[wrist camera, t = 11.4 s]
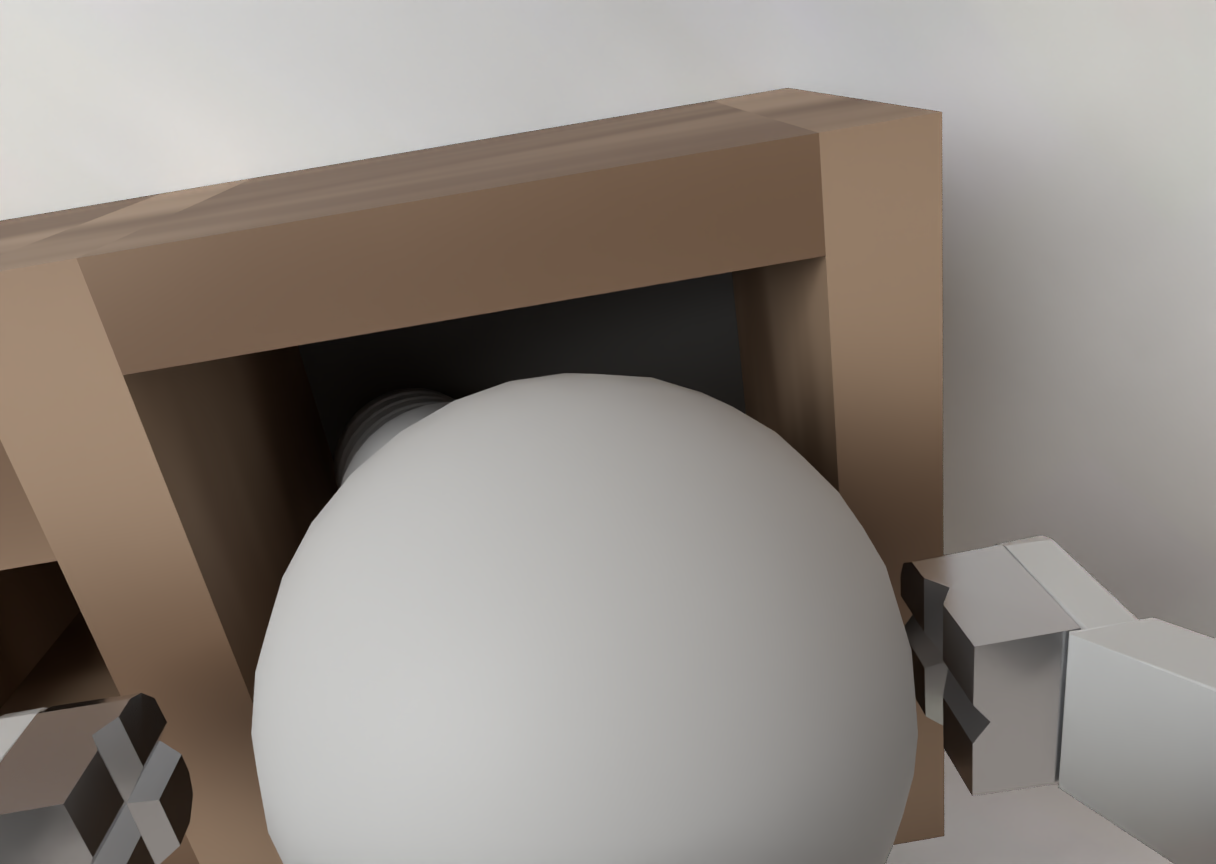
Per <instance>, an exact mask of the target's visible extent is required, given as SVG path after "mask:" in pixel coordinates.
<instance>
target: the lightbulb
mask: <svg viewBox="0 0 1216 864" xmlns="http://www.w3.org/2000/svg"><path fill="white" fill-rule="evenodd" d="M334 473H335V481H336V484H337V487H338V491H337V492H336V493H335V495H334V496H333V497H332V498H331V499H330V501H329V502H328V503H327V504H326V506H325V507H324V508H323V509H322V511H321V512H320V513H319V514H318V515H317V517H316V518H315V519H314V520H313V522H312V523H311V525H310V527H309V529H308V530H307V532H306V534H305V536H304V538H303V540H302V542H301V544H300V545H299V547H298V549H297V551H296V553H295V555H294V557H293V559H292V560H291V562H290V564H289V566H288V568H287V570H286V572H285V573H284V575H283V577H282V580H281V584H280V587H279V591H278V594H277V597H276V601H275V604H274V607H273V611H272V614H271V618H270V621H269V624H268V628H267V631H266V635H265V638H264V642H263V646H262V649H261V653H260V657H259V660H258V664H257V668H256V671H255V685H254V701H253V716H252V732H251V736H252V742H253V749H254V755H255V762H256V768H257V774H258V780H259V785H260V791H261V796H262V802H263V807H264V812H265V818H266V823H267V829H268V833H269V835H270V837H271V839H272V841H273V843H274V846H275V848H276V850H277V852H278V854H279V856H280V858H281V860H282V862H283V864H885V863H886V861H887V858H888V856H889V854H890V851H891V849H892V847H893V844H894V841H895V837H896V834H897V831H898V828H899V825H900V822H901V819H902V816H903V813H904V809H905V806H906V802H907V798H908V794H909V791H910V787H911V783H912V779H913V776H914V768H915V759H916V749H917V739H918V728H917V713H916V699H915V686H914V674H913V662H912V650H911V647H910V644H909V640H908V637H907V634H906V631H905V627H904V624H903V621H902V617H901V614H900V611H899V608H898V604H897V601H896V598H895V595H894V591H893V588H892V585H891V582H890V578H889V575H888V572H887V568H886V566H885V564H884V562H883V561H882V559H881V557H880V555H879V554H878V552H877V550H876V549H875V547H874V545H873V544H872V542H871V540H870V539H869V537H868V535H867V534H866V532H865V530H864V528H863V527H862V525H861V524H860V523H859V521H858V520H857V518H856V517H855V515H854V514H853V512H852V511H851V509H850V508H849V507H848V505H847V504H846V502H845V501H844V499H843V498H842V496H841V495H840V494H839V492H838V491H837V490H836V489H835V488H834V487H833V486H832V485H831V484H830V483H829V482H828V481H827V480H826V479H825V478H824V477H823V476H822V475H821V474H820V473H819V472H818V471H817V470H816V469H815V468H814V467H813V466H812V465H811V464H810V463H809V462H808V461H807V460H806V459H805V458H804V457H803V456H801V455H800V454H799V453H798V452H797V451H796V450H795V449H794V448H793V447H792V446H791V445H789V444H788V443H787V442H786V441H785V440H784V439H783V438H782V437H781V436H780V435H778V434H777V433H776V432H775V431H773V430H771V429H770V428H768V427H766V426H765V425H763V424H761V423H759V422H758V421H756V420H754V419H753V418H751V417H749V416H748V415H746V414H744V413H742V412H741V411H739V410H737V409H736V408H734V407H732V406H730V405H728V404H726V403H724V402H721V401H719V400H717V399H715V398H713V397H710V396H708V395H706V394H704V393H702V392H698V391H695V390H692V389H688V388H685V387H682V386H678V385H675V384H672V383H668V382H665V381H662V380H658V379H655V378H652V377H636V376H621V375H605V374H580V373H562V374H555V375H549V376H542V377H535V378H528V379H521V380H514V381H509V382H506V383H503V384H500V385H497V386H495V387H492V388H489V389H486V390H483V391H480V392H478V393H475V394H472V395H469V396H466V397H463V398H460V399H458V400H455V399H453V398H451V397H449V396H447V395H444V394H442V393H440V392H437V391H433V390H429V389H423V388H407V389H400V390H395V391H392V392H389V393H386V394H383V395H381V396H379V397H377V398H375V399H373V400H372V401H370V402H368V403H367V404H366V405H364V406H363V407H362V408H361V409H360V410H359V411H357V412H356V413H355V414H354V416H353V417H352V418H351V419H350V421H349V422H348V423H347V424H346V426H345V428H344V430H343V432H342V434H341V435H340V437H339V440H338V443H337V447H336V450H335V457H334Z"/></svg>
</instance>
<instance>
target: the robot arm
mask: <svg viewBox="0 0 1216 864" xmlns="http://www.w3.org/2000/svg"><path fill="white" fill-rule="evenodd" d="M900 581H901V597H902V599H903V600H904V602H905V603H906V605H907V606H908V608H909V609H910V611H911V613H912V616H911V617H910V619H909V620H908V622H907V623H906V624H905V626H904V627H905V631H906V634H907V637H908V640H909V644H910V647H911V650H912V662H913V674H914V686H915V698H916V700H917V702H918V704H919V705H920V707H921V709H922V711H923V713H924V714H925V716H926V717H928V718H930V719H931V720H933V721H935V722H937V723H939V724H941V725H943V746H944V749H945V751H946V752H947V754H948V756H949V757H950V759H951V761H952V762H953V764H954V766H955V767H956V769H957V771H958V772H959V774H960V776H961V778H962V779H963V781H964V783H965V784H966V786H967V788H968V789H969V791H970V793H971V794H972V796H976V795H983V794H990V793H997V792H1004V791H1011V790H1018V789H1025V788H1032V787H1038V786H1045V785H1052V784H1059V787H1058V788H1060V789H1061V790H1063V791H1064V792H1066V793H1067V794H1069V795H1070V796H1072V797H1073V798H1075V799H1076V800H1078V801H1079V802H1081V803H1083V804H1084V805H1086V806H1087V807H1089V808H1090V809H1092V810H1093V811H1095V812H1096V813H1098V814H1099V815H1101V816H1102V817H1104V818H1105V819H1107V820H1108V821H1110V822H1111V823H1113V824H1114V825H1116V826H1118V827H1119V828H1121V829H1122V830H1124V831H1125V832H1127V833H1128V834H1130V835H1131V836H1133V837H1134V838H1136V839H1137V840H1139V841H1140V842H1142V843H1143V844H1145V845H1146V846H1148V847H1150V848H1151V849H1153V850H1154V851H1156V852H1157V853H1159V854H1160V855H1162V856H1163V857H1165V858H1166V859H1168V860H1169V861H1171V862H1172V863H1174V864H1216V639H1215V638H1212V637H1209V636H1206V635H1203V634H1200V633H1197V632H1194V631H1192V630H1189V629H1186V628H1183V627H1180V626H1177V625H1174V624H1171V623H1168V622H1165V621H1163V620H1160V619H1157V618H1154V617H1153V618H1147V619H1141V620H1138V619H1137V618H1136V617H1135V616H1134V615H1133V614H1132V613H1131V612H1130V611H1129V610H1127V609H1126V608H1125V607H1124V606H1123V605H1122V604H1121V603H1120V602H1119V601H1118V600H1117V599H1116V598H1115V597H1114V596H1113V595H1111V594H1110V593H1109V592H1108V591H1107V590H1106V589H1105V588H1104V587H1103V586H1102V585H1101V584H1100V583H1099V582H1098V581H1097V580H1095V579H1094V578H1093V577H1092V576H1091V575H1090V574H1089V573H1088V572H1087V571H1086V570H1085V569H1084V568H1083V567H1082V566H1081V565H1079V564H1078V563H1077V562H1076V561H1075V560H1074V559H1073V558H1072V557H1071V556H1070V555H1069V554H1068V553H1067V552H1066V551H1065V550H1063V549H1062V548H1061V547H1060V546H1059V545H1058V544H1057V543H1056V542H1055V541H1054V540H1053V539H1051V538H1048V537H1045V536H1042V535H1040V536H1035V537H1030V538H1025V539H1020V540H1015V541H1010V542H1006V543H1001V544H996V545H995V546H991V547H985V548H980V549H975V550H969V551H964V552H959V553H953V554H948V555H943V556H937V557H932V558H927V559H921V560H916V561H911V562H905V563H903V567H902V571H901V576H900ZM166 724H167V721H166V719H165V717H164V715H163V713H162V711H161V709H160V707H159V705H158V703H157V701H156V700H155V698H153V697H151V696H148V695H146V694H143V693H136V694H130V695H123V696H116V697H110V698H103V699H96V700H90V701H83V702H77V703H70V704H63V705H57V706H52V707H49V708H37V709H32V710H26V711H20V712H15V713H9V714H5V715H3V716H0V864H160V863H162V862H163V861H164V860H165V859H166V858H167V857H168V856H169V855H170V854H171V853H173V852H174V851H175V850H176V849H177V848H178V847H179V846H180V845H181V843H182V840H183V838H184V835H185V833H186V831H187V828H188V826H189V823H190V818H191V809H192V800H193V790H192V785H191V779H190V773H189V770H188V768H187V766H186V763H185V761H184V759H183V756H182V754H180V753H179V752H177V751H176V750H174V749H172V748H171V747H169V746H168V745H166V744H165V743H163V742H162V741H160V739H161V737H162V734H163V731H164V729H165V726H166Z"/></svg>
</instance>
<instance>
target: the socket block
mask: <svg viewBox="0 0 1216 864" xmlns="http://www.w3.org/2000/svg"><path fill="white" fill-rule="evenodd" d="M562 373H580V374H605V375H621V376H636V377H652V378H655V379H658V380H662V381H665V382H668V383H672V384H675V385H678V386H682V387H685V388H688V389H692V390H695V391H698V392H702V393H704V394H706V395H708V396H710V397H713V398H715V399H717V400H719V401H721V402H724V403H726V404H728V405H730V406H732V407H734V408H736V409H737V410H739V411H741V412H742V413H744V414H746V415H748V416H749V417H751V418H753V419H754V420H756V421H758V422H759V423H761V424H763V425H765V426H766V427H768V428H770V429H771V430H773V431H775V432H776V433H777V434H778V435H780V436H781V437H782V438H783V439H784V440H785V441H786V442H787V443H788V444H789V445H791V446H792V447H793V448H794V449H795V450H796V451H797V452H798V453H799V454H800V455H801V456H803V457H804V458H805V459H806V460H807V461H808V462H809V463H810V464H811V465H812V466H813V467H814V468H815V469H816V470H817V471H818V472H819V473H820V474H821V475H822V476H823V477H824V478H825V479H826V480H827V481H828V482H829V483H830V484H831V485H832V486H833V487H834V488H835V489H836V490H837V491H838V492H839V494H840V495H841V496H842V498H843V499H844V501H845V502H846V504H847V505H848V507H849V508H850V509H851V511H852V512H853V514H854V515H855V517H856V518H857V520H858V521H859V523H860V524H861V525H862V527H863V528H864V530H865V532H866V534H867V535H868V537H869V539H870V540H871V542H872V544H873V545H874V547H875V549H876V550H877V552H878V554H879V555H880V557H881V559H882V561H883V562H884V564H885V566H886V568H887V572H888V575H889V578H890V582H891V585H892V588H893V591H894V595H895V598H896V601H897V604H898V608H899V611H900V614H901V617H902V621H903V624H904V626H905V624H906V623H907V622H908V620H909V619H910V617H911V616H912V613H911V611H910V609H909V608H908V606H907V605H906V603H905V602H904V600H903V599H902V597H901V581H900V576H901V571H902V567H903V563H905V562H911V561H916V560H921V559H927V558H932V557H937V556H943V270H942V112H939V111H933V110H926V109H920V108H913V107H907V106H901V105H894V104H888V103H881V102H875V101H868V100H862V99H856V98H849V97H843V96H836V95H830V94H823V93H817V92H811V91H804V90H798V89H791V88H785V89H779V90H773V91H767V92H761V93H755V94H749V95H743V96H737V97H731V98H726V99H720V100H714V101H708V102H702V103H696V104H690V105H684V106H678V107H672V108H666V109H660V110H654V111H648V112H643V113H637V114H631V115H625V116H619V117H613V118H607V119H601V120H595V121H589V122H583V123H577V124H571V125H566V126H560V127H554V128H548V129H542V130H536V131H530V132H524V133H518V134H512V135H506V136H500V137H494V138H488V139H483V140H477V141H471V142H465V143H459V144H453V145H447V146H441V147H435V148H429V149H423V150H417V151H411V152H406V153H400V154H394V155H388V156H382V157H376V158H370V159H364V160H358V161H352V162H346V163H340V164H334V165H328V166H323V167H317V168H311V169H305V170H299V171H293V172H287V173H281V174H275V175H269V176H263V177H257V178H251V179H246V180H240V181H234V182H228V183H222V184H216V185H210V186H204V187H198V188H192V189H186V190H180V191H174V192H169V193H163V194H157V195H151V196H145V197H139V198H133V199H127V200H121V201H115V202H109V203H103V204H97V205H91V206H86V207H80V208H74V209H68V210H62V211H56V212H50V213H44V214H38V215H32V216H26V217H20V218H14V219H9V220H3V221H0V716H3V715H5V714H9V713H15V712H20V711H26V710H32V709H37V708H49V707H52V706H57V705H63V704H70V703H77V702H83V701H90V700H96V699H103V698H110V697H116V696H123V695H130V694H136V693H143V694H146V695H148V696H151V697H153V698H155V700H156V701H157V703H158V705H159V707H160V709H161V711H162V713H163V715H164V717H165V719H166V721H167V724H166V726H165V729H164V731H163V734H162V737H161V739H160V741H162V742H163V743H165V744H166V745H168V746H169V747H171V748H172V749H174V750H176V751H177V752H179V753H180V754H182V756H183V759H184V761H185V763H186V766H187V768H188V770H189V773H190V779H191V785H192V790H193V800H192V809H191V818H190V823H189V826H188V828H187V831H186V833H185V835H184V838H183V840H182V843H181V845H180V846H179V847H178V848H177V849H176V850H175V851H174V852H173V853H171V854H170V855H169V856H168V857H167V858H166V859H165V860H164V861H163V862H162V863H160V864H283V862H282V860H281V858H280V856H279V854H278V852H277V850H276V848H275V846H274V843H273V841H272V839H271V837H270V835H269V833H268V829H267V823H266V818H265V812H264V807H263V802H262V796H261V791H260V785H259V780H258V774H257V768H256V762H255V755H254V749H253V742H252V736H251V732H252V716H253V701H254V685H255V671H256V668H257V664H258V660H259V657H260V653H261V649H262V646H263V642H264V638H265V635H266V631H267V628H268V624H269V621H270V618H271V614H272V611H273V607H274V604H275V601H276V597H277V594H278V591H279V587H280V584H281V580H282V577H283V575H284V573H285V572H286V570H287V568H288V566H289V564H290V562H291V560H292V559H293V557H294V555H295V553H296V551H297V549H298V547H299V545H300V544H301V542H302V540H303V538H304V536H305V534H306V532H307V530H308V529H309V527H310V525H311V523H312V522H313V520H314V519H315V518H316V517H317V515H318V514H319V513H320V512H321V511H322V509H323V508H324V507H325V506H326V504H327V503H328V502H329V501H330V499H331V498H332V497H333V496H334V495H335V493H336V492H337V491H338V487H337V484H336V481H335V473H334V457H335V450H336V447H337V443H338V440H339V437H340V435H341V434H342V432H343V430H344V428H345V426H346V424H347V423H348V422H349V421H350V419H351V418H352V417H353V416H354V414H355V413H356V412H357V411H359V410H360V409H361V408H362V407H363V406H364V405H366V404H367V403H368V402H370V401H372V400H373V399H375V398H377V397H379V396H381V395H383V394H386V393H389V392H392V391H395V390H400V389H407V388H423V389H429V390H433V391H437V392H440V393H442V394H444V395H447V396H449V397H451V398H453V399H455V400H458V399H460V398H463V397H466V396H469V395H472V394H475V393H478V392H480V391H483V390H486V389H489V388H492V387H495V386H497V385H500V384H503V383H506V382H509V381H514V380H521V379H528V378H535V377H542V376H549V375H555V374H562ZM915 699H916V698H915ZM916 713H917V728H918V739H917V749H916V759H915V768H914V776H913V779H912V783H911V787H910V791H909V794H908V798H907V802H906V806H905V809H904V813H903V816H902V819H901V822H900V825H899V828H898V831H897V834H896V837H895V841H894V844H893V845H895V844H901V843H907V842H913V841H918V840H924V839H930V838H936V837H941V836H944V746H943V725H941V724H939V723H937V722H935V721H933V720H931V719H930V718H928V717H926V716H925V714H924V713H923V711H922V709H921V707H920V705H919V704H918V702H917V700H916Z"/></svg>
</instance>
